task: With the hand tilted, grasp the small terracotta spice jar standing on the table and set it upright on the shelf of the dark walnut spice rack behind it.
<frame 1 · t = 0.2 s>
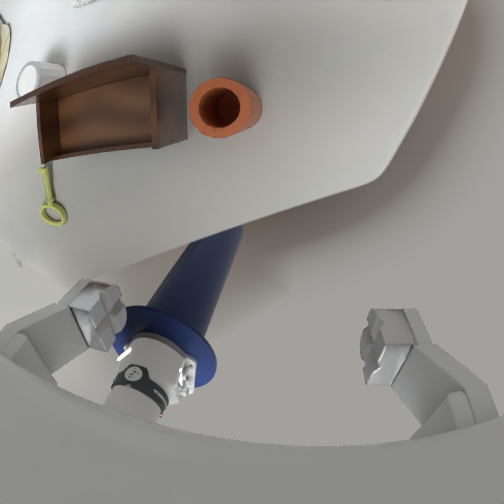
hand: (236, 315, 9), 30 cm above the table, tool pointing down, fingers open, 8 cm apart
white cup: (56, 79, 32), on the table
key: (53, 197, 43), on the table
spice rack: (123, 111, 34), on the table
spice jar: (238, 108, 33), on the table
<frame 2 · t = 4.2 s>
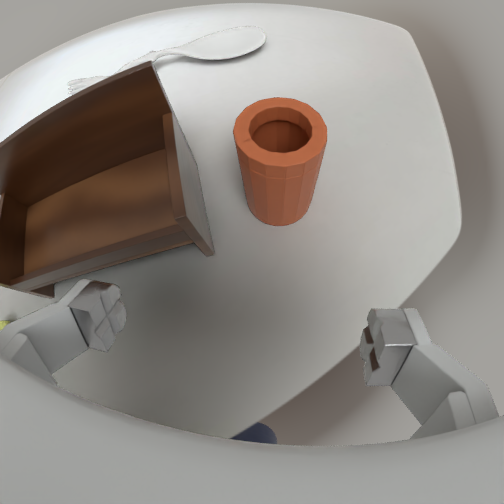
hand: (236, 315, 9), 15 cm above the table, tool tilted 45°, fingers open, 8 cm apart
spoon: (161, 70, 34), on the table
spice rack: (114, 233, 27), on the table
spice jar: (278, 196, 26), on the table
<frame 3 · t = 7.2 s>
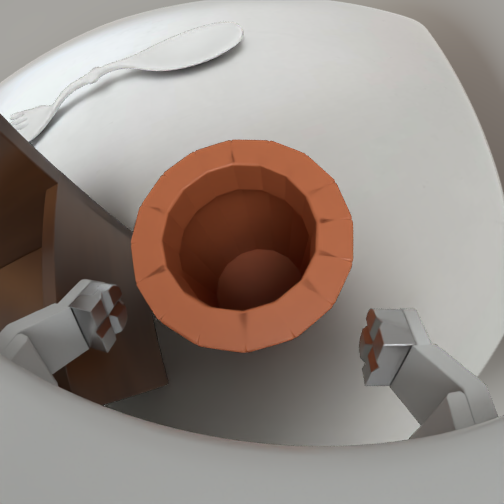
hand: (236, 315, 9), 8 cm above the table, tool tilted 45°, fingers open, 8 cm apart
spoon: (109, 91, 25), on the table
spice rack: (48, 334, 17), on the table
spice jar: (261, 293, 17), on the table
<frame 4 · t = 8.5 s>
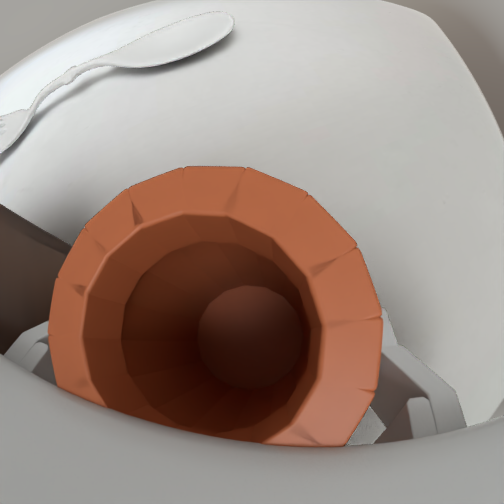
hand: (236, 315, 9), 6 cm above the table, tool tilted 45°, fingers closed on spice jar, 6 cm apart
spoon: (88, 91, 22), on the table
spice rack: (23, 365, 14), on the table
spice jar: (250, 337, 14), on the table, touching gripper
when the fingers open (10 cm above the table, at t = 18.0 s): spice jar stays where it is, resting on spice rack.
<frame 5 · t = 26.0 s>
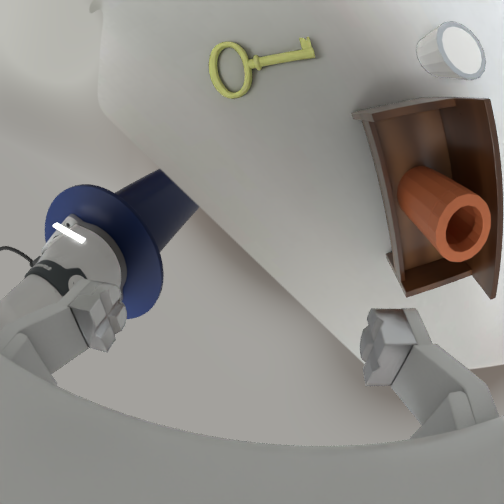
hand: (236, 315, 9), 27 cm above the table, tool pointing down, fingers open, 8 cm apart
white cup: (434, 57, 22), on the table
key: (258, 63, 27), on the table
spice rack: (408, 181, 31), on the table
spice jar: (420, 192, 26), point 5 cm above the table, touching spice rack
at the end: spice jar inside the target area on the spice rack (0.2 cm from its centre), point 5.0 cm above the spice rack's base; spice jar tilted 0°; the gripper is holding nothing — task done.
